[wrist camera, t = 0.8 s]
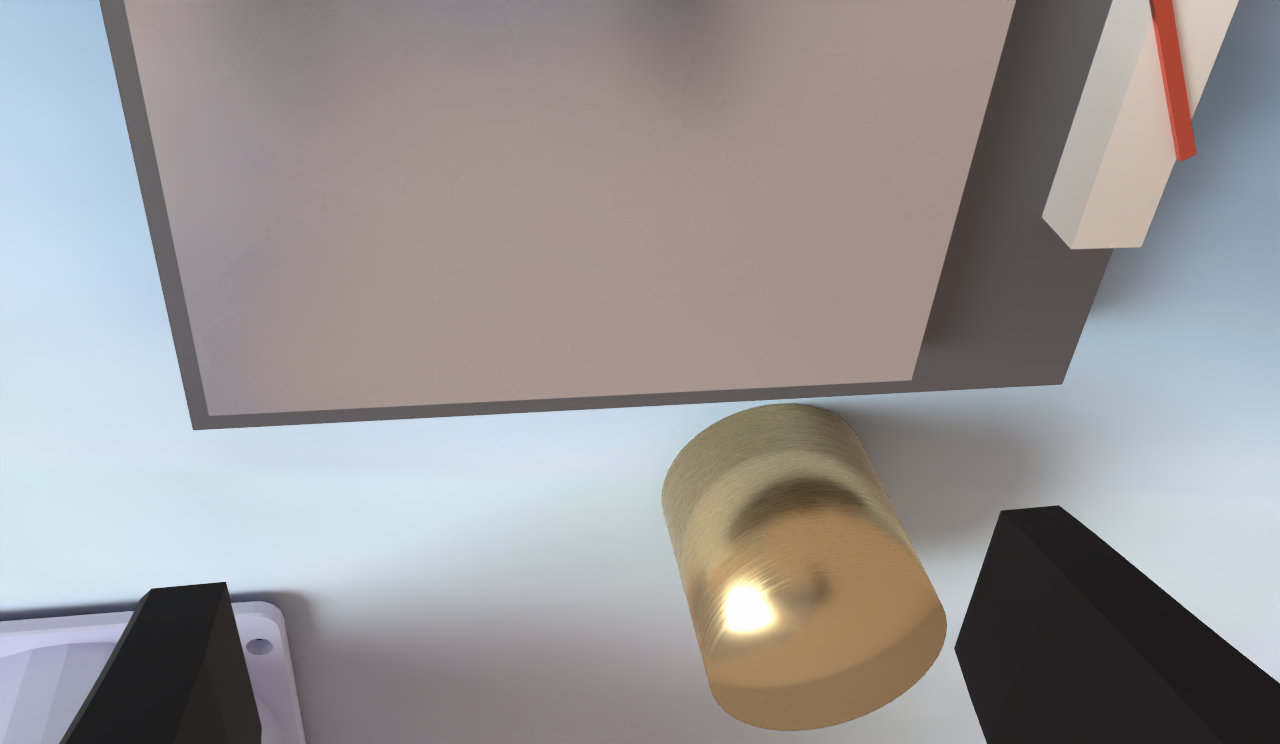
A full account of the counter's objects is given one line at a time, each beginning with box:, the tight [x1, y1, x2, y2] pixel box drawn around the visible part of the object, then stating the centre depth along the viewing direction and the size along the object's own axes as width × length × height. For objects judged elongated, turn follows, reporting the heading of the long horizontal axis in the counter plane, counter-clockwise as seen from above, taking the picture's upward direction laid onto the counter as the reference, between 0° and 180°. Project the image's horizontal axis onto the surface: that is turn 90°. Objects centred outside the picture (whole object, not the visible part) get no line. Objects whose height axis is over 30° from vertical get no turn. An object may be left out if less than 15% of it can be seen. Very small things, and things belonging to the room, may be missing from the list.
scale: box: [99, 0, 1239, 430], centre depth 16 cm, size 12×15×3 cm
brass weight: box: [662, 404, 947, 731], centre depth 22 cm, size 4×4×4 cm
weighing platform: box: [124, 0, 1016, 416], centre depth 15 cm, size 10×11×1 cm
